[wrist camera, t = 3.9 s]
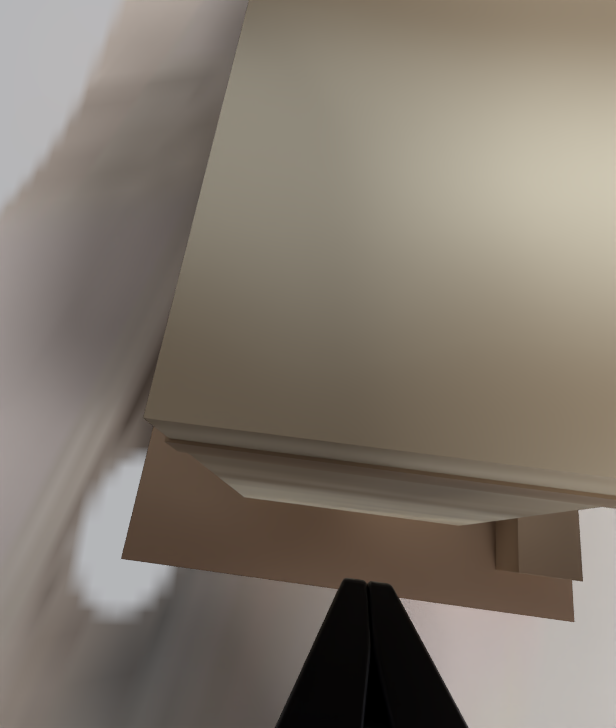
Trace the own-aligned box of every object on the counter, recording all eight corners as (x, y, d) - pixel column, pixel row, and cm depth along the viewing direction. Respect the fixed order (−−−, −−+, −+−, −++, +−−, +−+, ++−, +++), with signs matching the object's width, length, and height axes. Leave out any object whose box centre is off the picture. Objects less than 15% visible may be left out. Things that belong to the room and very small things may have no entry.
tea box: (461, 528, 13) (725, 497, 5) (241, 498, 14) (137, 422, 5) (466, 156, 18) (609, -190, 9) (303, 139, 18) (300, -212, 10)
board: (539, 612, 14) (658, 646, 10) (144, 557, 15) (65, 562, 10) (518, 16, 23) (573, -122, 19) (272, -5, 24) (264, -145, 19)
